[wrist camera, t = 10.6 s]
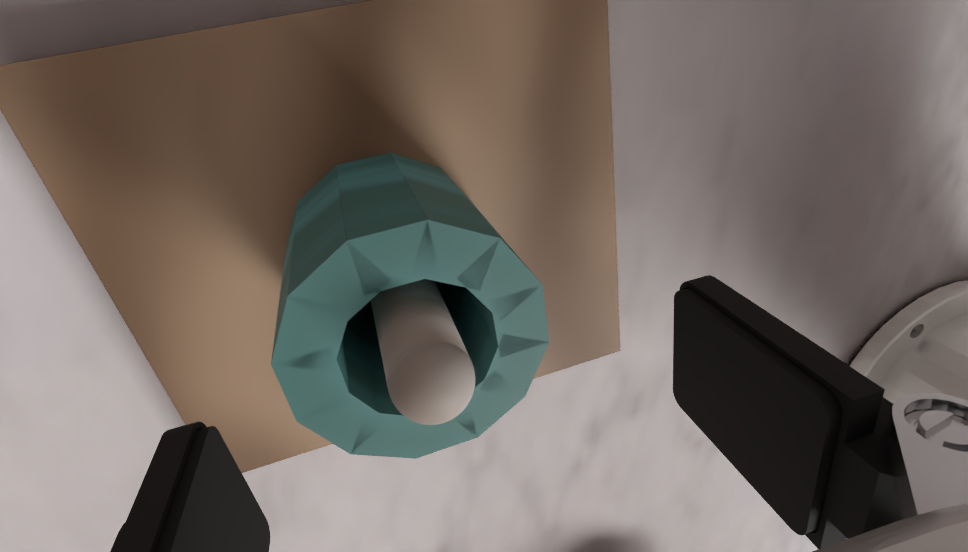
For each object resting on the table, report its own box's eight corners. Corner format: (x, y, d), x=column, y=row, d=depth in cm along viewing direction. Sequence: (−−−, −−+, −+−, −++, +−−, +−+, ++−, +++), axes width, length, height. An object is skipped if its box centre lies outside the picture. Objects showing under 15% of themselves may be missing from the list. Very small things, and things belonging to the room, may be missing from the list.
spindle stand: (582, -37, 16) (852, -92, 8) (603, 331, 23) (761, 503, 15) (9, 64, 13) (-465, 135, 5) (224, 450, 20) (163, 744, 12)
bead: (460, 135, 16) (530, 192, 11) (490, 301, 19) (557, 409, 14) (258, 183, 15) (228, 271, 10) (323, 350, 18) (327, 488, 12)
